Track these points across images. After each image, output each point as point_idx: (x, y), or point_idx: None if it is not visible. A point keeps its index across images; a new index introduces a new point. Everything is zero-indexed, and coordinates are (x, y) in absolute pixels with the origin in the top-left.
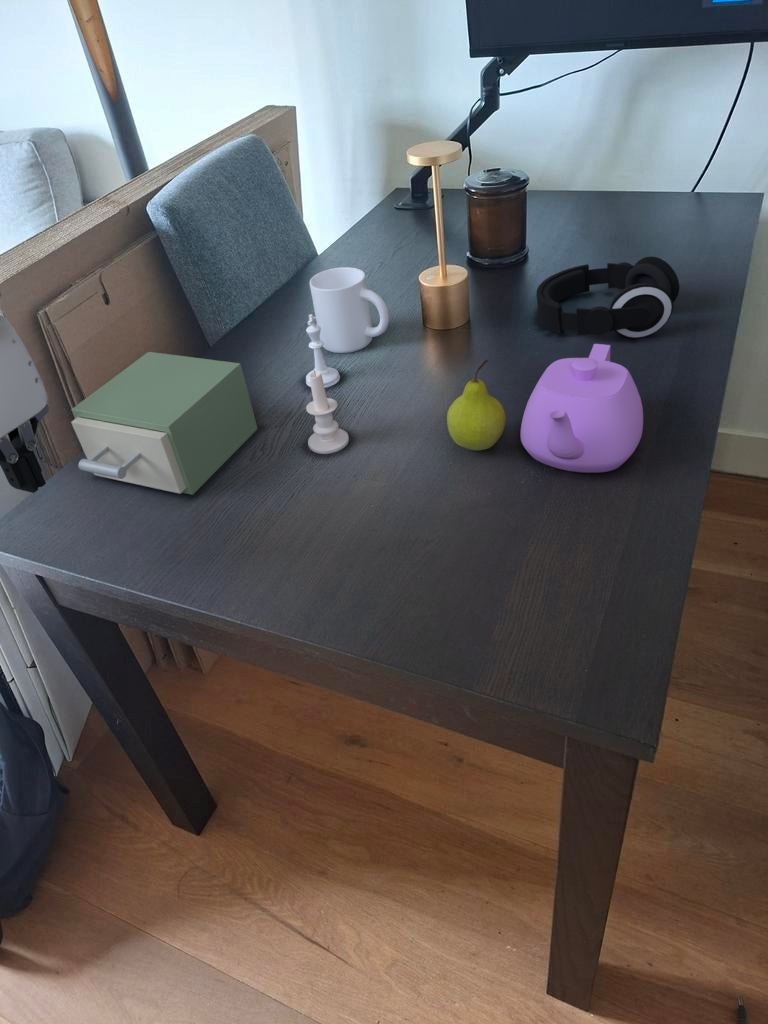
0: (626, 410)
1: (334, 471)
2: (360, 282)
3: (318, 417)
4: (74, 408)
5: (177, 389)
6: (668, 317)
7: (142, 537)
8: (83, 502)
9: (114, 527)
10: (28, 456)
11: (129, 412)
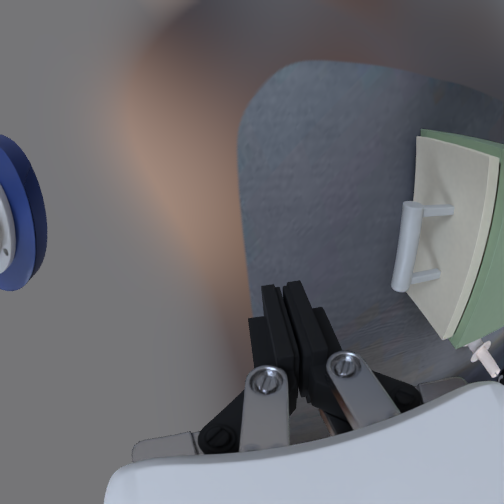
0: None
1: (429, 354)
2: None
3: (473, 349)
4: None
5: None
6: None
7: (328, 285)
8: (367, 149)
9: (335, 239)
10: (306, 397)
11: (497, 273)
